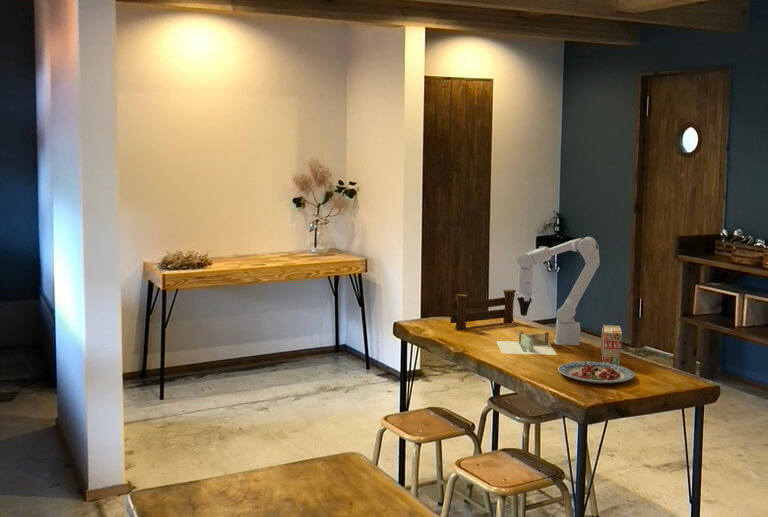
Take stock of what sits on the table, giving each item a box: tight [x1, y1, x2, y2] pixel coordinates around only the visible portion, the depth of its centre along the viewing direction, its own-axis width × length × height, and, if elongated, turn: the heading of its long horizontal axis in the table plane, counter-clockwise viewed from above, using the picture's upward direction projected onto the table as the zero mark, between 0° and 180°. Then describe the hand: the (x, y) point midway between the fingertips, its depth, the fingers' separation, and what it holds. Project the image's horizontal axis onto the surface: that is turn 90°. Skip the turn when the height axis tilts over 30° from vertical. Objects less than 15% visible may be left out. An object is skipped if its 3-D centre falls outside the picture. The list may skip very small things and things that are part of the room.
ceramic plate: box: [557, 360, 635, 385], centre depth 299 cm, size 26×26×3 cm
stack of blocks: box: [600, 324, 623, 366], centre depth 324 cm, size 21×6×12 cm, turn 168°
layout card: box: [495, 340, 558, 356], centre depth 336 cm, size 21×20×1 cm
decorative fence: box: [450, 289, 517, 331], centre depth 375 cm, size 34×6×15 cm, turn 121°
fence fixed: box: [518, 331, 550, 345], centre depth 342 cm, size 12×2×5 cm, turn 89°
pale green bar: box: [521, 333, 533, 351], centre depth 335 cm, size 12×2×5 cm, turn 8°
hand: (523, 315), depth 351 cm, fingers closed
